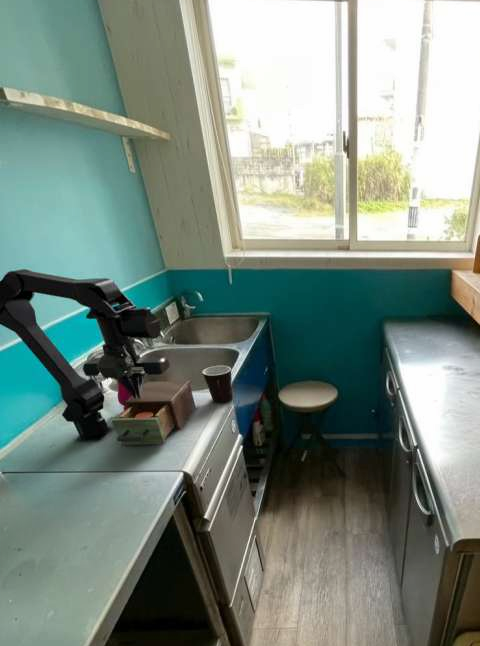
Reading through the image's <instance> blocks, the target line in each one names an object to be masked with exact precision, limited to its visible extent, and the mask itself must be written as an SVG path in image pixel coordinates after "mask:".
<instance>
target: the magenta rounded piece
mask: <svg viewBox="0 0 480 646" xmlns="http://www.w3.org/2000/svg"><path fill="white" fill-rule="evenodd" d="M116 381H117V386H118V387H117V400H118V401H117V402H118V403H119V404H120V405H121V406H123V407H122V409H123V413H124V412H125V411H126V410H127V406H126V403H125V401H127V400H128V399H129V398H130V397H131V396H132V395H131V393H130V392H129V391H128V390H127V389H126V388H125V386H124V385H123V384H122V383H121V382H120V381H118V380H116Z"/></svg>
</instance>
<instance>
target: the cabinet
mask: <svg viewBox="0 0 480 646" xmlns="http://www.w3.org/2000/svg"><path fill="white" fill-rule="evenodd" d="M125 403H126V406H127V409H128V408H129V407H130V406H131V405H132V404H169V405H170V408H171V411H172V415H173V418H174V421H175V424H176V425H175V426H174V427H173V429H172V430H171V431H180V430H182V428H183V427H184V426H185V424H186V423H187V421H188V419H189V418H190V417H191V416H192V414H193V413H194V412H195V411H196V409H197V407H196V402H195V400H194V395H193V391H192V387H191V383H190V381H189V380H182V381H181V380H175V381H173V380H171V381H170V380H169V381H167V380H166V381H165V380H164V381H147V382H145V383H143V387H142V395H141V398H138V397H137V398H134V397H133V396H131V397H130V398H129V399H128V400H127V401H125Z"/></svg>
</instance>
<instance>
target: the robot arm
mask: <svg viewBox="0 0 480 646" xmlns="http://www.w3.org/2000/svg"><path fill="white" fill-rule="evenodd" d="M35 294H41V295H46V296H52V297H57V298H58V297H59V298H64V299H69V300H73V301H75V302H77V303H78V304H80V306H83V307H85V308H89V311H88V312H87V314H86V315H85V318H86V319H88V320H96V323H97V326H98V328H99V331H100V334H101V336H102V337H101V338H102V339H103V343H104V344H102V346H101V347H102V351H103V355H102V356H101V357H93V358H91V359H89V360H88V361H86V362H84V363H83V365H82V371H83V373H84V375H85V376H86V377H90V378H88V379H87V378H85V377H83V376H81V375H80V374H79V373H78V372H77V371H76V369H74V368H73V366H72V364H71V363H70V362H69V361H68V359H66V357H65V356H64V355H63V354H62V352H61V351H60V350H59V348H57V346H56V345H55V344H54V343H53V342H52V340H51V339H50V337H49V336H48V335H47V334H46V333H45V332H44V330H43V329H42V327H41V326H40V325H39V324H38V322H37V317H36V311H35V308H34V307H33V305H32V304H31V301H32V300H33V298H34V297H35ZM0 326H2V327H4V328H6V329H8V330H10V331H12V332H14V333H15V334H16V335H17V336H18V337H19V338H20V340H21V341H22V342H23V344H24V345H25V346H26V347H27V348H28V349H29V350H30V352H31V353H32V354H33V355H34V356H35V357H36V358H37V360H38V361H39V362H40V363H41V364H42V366H43V367H44V368H45V370H47V372H48V373H49V374H50V375H51V377H52V378H53V379H54V380H55V382H56V383H57V384H58V385H59V388H60V395H61V398H62V400H63V401H64V402H65V405H66V407H65V408H64V411H63V412H62V414H61V415H62V417H63V418H64V419H65V421H66V422H69V423H70V422H71V423H73V425H74V427H75V429H76V432H77V434H78V436H77V437H76V438H75V439H76V440H77V441H100V440H102V438H104V437H105V435H107V433H109V432H110V431H111V430H112V427H110V426H108V423H107V421H106V419H105V417H103V415H102V413H101V411H102V410H104V403H105V395H104V393H103V390H104V389H102V388H100V386H99V385H98V384H97V382H96V380H95V379H94V378H92V377H94V376H95V377H97V376H99V375H100V374H101V376H102V377H103V378H104V379H109V378H110V379H114V380H116V381H117V380H118V381H120V382H121V383H122V384H123V385H124V386H125V388H126V389H127V390H128V391H129V392H130V393H131V395H132V396H133V397H134V398H137V397H138V398H141V395H142V387H143V385H144V380H145V376H146V374H147V375H148V376H156V375H157V376H158V375H162V374H164V373H165V372H166V371H167V370H168V369H170V366H171V365H170V362H169V360H168V358H166V357H165V356H150V357H148V358H147V359H146V360H143V361H139V360H141V355H140V354H137V351H136V349H135V347H134V344H135V343H136V340H135V339H145V340H146V339H147V340H148V339H149V340H150V339H151V340H154V339H155V340H156V339H158V338H159V337H160V335H161V332H162V331H161V330H162V327H161V322H160V320H159V319H158V317H157V316H156V314H154V313H152V311H151V308H150V307H148V306H147V307H146V306H145V307H137V305H135V304H134V303H133V301H131V300H130V299H129V297H128V296H126V294H125V293H124V292H123V291H121V289H120V288H119V286H118V285H117V284H116V282H115V281H114V280H112V279H110V278H108V277H107V278H106V277H104V278H103V277H101V278H99V277H98V278H97V277H96V278H85V279H84V278H82V279H80V278H79V279H76V278H70V277H65V276H58V275H53V274H50V273H49V274H47V273H43V272H36V271H32V270H29V269H26V268H22V269H16V270H12V271H11V270H9V271H8V272H6V273H5V274H4V276H3V277H2V279H1V280H0Z"/></svg>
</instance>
